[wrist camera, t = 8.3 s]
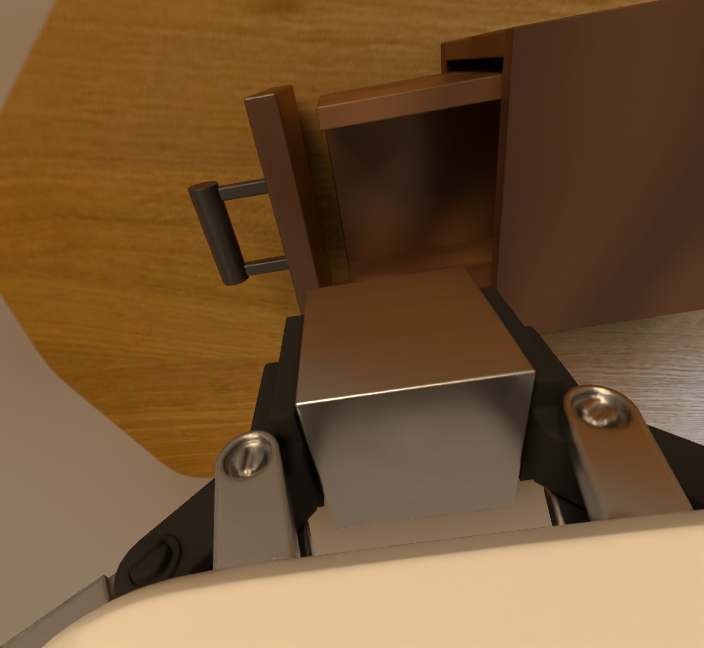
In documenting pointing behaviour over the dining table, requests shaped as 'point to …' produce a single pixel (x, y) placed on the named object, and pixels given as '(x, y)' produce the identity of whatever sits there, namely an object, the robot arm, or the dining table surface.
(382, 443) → the block
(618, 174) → the cabinet
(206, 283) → the dining table surface
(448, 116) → the drawer
